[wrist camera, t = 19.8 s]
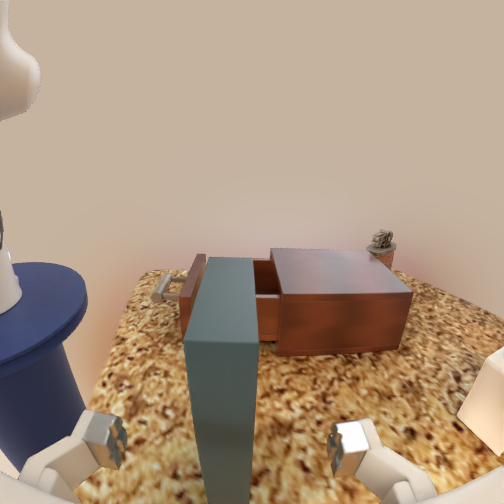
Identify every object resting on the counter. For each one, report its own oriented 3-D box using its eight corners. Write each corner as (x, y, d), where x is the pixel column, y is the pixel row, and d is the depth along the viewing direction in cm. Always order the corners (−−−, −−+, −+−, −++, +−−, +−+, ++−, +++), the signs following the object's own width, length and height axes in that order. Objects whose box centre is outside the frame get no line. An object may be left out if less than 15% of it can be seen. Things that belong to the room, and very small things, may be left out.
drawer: (146, 341, 32) (139, 294, 30) (170, 290, 45) (167, 253, 43) (307, 346, 32) (313, 299, 31) (291, 293, 45) (294, 255, 43)
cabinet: (277, 356, 32) (282, 293, 30) (267, 296, 46) (270, 247, 44) (398, 349, 33) (414, 292, 30) (360, 296, 46) (367, 250, 44)
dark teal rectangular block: (210, 517, 14) (182, 340, 9) (216, 433, 22) (208, 256, 17) (248, 518, 14) (259, 342, 9) (246, 434, 22) (252, 257, 17)
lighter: (376, 279, 53) (385, 225, 50) (392, 285, 50) (402, 230, 47) (354, 292, 48) (363, 231, 45) (372, 299, 45) (382, 237, 42)
